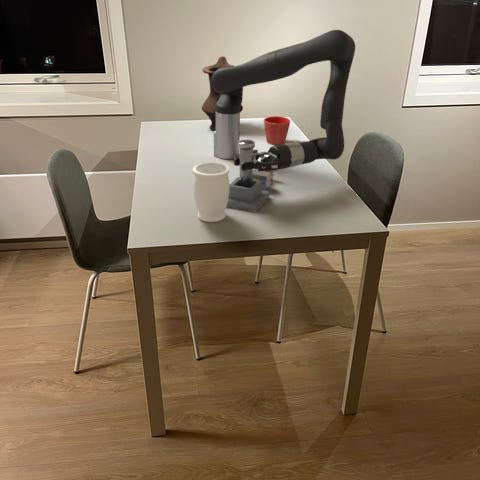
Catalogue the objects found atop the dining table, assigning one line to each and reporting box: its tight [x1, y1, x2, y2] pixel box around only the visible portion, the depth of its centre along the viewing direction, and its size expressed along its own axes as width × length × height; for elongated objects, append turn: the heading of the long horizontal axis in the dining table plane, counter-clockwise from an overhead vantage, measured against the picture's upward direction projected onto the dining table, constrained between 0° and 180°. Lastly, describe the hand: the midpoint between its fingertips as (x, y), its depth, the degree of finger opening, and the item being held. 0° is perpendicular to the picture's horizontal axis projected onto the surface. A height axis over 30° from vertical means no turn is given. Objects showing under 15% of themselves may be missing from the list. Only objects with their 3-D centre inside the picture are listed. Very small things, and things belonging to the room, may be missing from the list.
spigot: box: [238, 139, 256, 188], centre depth 146 cm, size 5×5×16 cm
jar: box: [192, 161, 230, 223], centre depth 138 cm, size 11×10×15 cm
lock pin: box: [253, 171, 274, 181], centre depth 162 cm, size 12×4×5 cm, turn 158°
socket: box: [226, 176, 270, 213], centre depth 150 cm, size 12×12×6 cm
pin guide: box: [252, 169, 271, 191], centre depth 160 cm, size 7×4×5 cm, turn 68°
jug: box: [201, 56, 244, 132], centre depth 214 cm, size 21×18×30 cm
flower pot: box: [263, 115, 291, 146], centre depth 202 cm, size 11×11×10 cm
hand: (238, 164), depth 144 cm, fingers closed on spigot, 4 cm apart
